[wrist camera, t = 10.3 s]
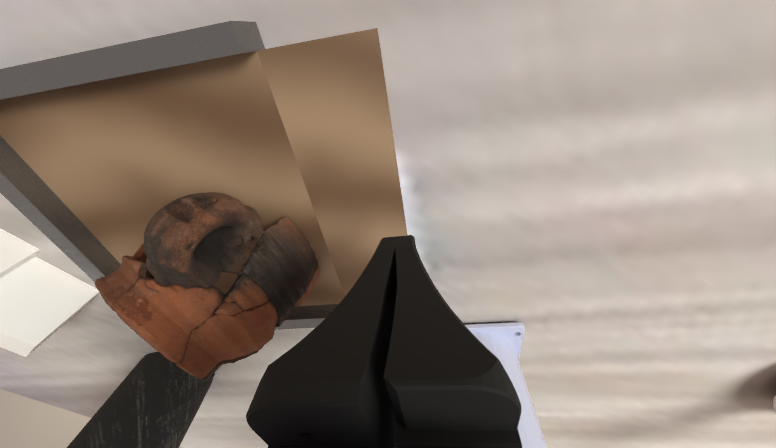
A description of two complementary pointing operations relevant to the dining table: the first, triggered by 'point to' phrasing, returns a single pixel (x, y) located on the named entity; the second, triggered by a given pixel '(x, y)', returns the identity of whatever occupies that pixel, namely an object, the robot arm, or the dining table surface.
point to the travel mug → (146, 408)
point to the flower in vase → (774, 403)
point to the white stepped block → (34, 296)
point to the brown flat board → (229, 148)
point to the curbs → (10, 171)
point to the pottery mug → (210, 281)
